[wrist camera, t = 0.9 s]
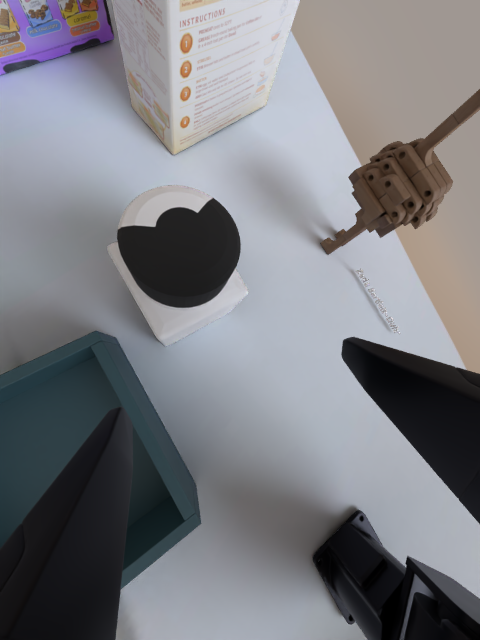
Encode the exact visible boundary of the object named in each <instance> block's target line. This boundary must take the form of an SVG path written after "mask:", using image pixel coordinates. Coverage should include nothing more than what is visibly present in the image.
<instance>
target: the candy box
mask: <svg viewBox="0 0 480 640" xmlns="http://www.w3.org/2000/svg"><path fill="white" fill-rule="evenodd" d="M113 39H114V34H113V30H112V25H111V20H110V15H109V11H108V6H107V2H106V0H0V75H3V74H5V73H9V72H11V71H14V70H17V69H20V68H25V67H28V66H31V65H34V64H36V63H40V62H43V61H46V60H50V59H54V58H57V57H60V56H63V55H65V54H69V53H72V52H75V51H79V50H82V49H84V48H88V47H91V46H94V45H98V44H101V43H104V42H106V41H110V40H113Z"/></svg>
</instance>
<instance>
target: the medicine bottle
mask: <svg viewBox="0 0 480 640" xmlns="http://www.w3.org/2000/svg"><path fill="white" fill-rule="evenodd" d="M117 240H118V241H117V242H114V243H111V244H109V245H108V247H107V250H108V253H109V255H110V257H111V258H112V260H113V262H114V264H115V265H116V267H117V269H118V271H119V273H120V274H121V276H122V278H123V280H124V281H125V283H126V285H127V287H128V289H129V290H130V292H131V294H132V296H133V297H134V299H135V301H136V303H137V304H138V306H139V308H140V310H141V312H142V313H143V315H144V317H145V319H146V320H147V322H148V324H149V326H150V328H151V329H152V331H153V333H154V335H155V336H156V338H157V339H158V340H159V341H160V342H161V343H162V344H163V345H164V346H166V347H167V346H170V345H172V344H173V343H175V342H177V341H179V340H181V339H183V338H184V337H186V336H188V335H190V334H192V333H194V332H195V331H197V330H199V329H201V328H203V327H205V326H206V325H208V324H210V323H212V322H214V321H216V320H217V319H219V318H221V317H223V316H225V315H227V314H228V313H229V312H230V311H231V310H232V309H234V308H235V307H236V306H237V305H238V304H239V303H240V302H241V301H242V300H243V299H244V298H245V297H246V296H247V295H248V289H247V287H246V285H245V283H244V282H243V280H242V278H241V277H240V275H239V273H238V271H237V270H236V266H237V263H238V260H239V256H240V236H239V232H238V229H237V227H236V224H235V222H234V220H233V218H232V217H231V215H230V214H229V213H228V211H227V210H226V209H225V208H224V207H223V206H222V205H221V204H220V203H219V202H218V201H217V200H215V199H214V198H212V197H211V196H209V195H208V194H206V193H204V192H202V191H200V190H197V189H194V188H191V187H186V186H179V185H168V186H161V187H157V188H154V189H151V190H148V191H146V192H144V193H142V194H141V195H139V196H138V197H136V198H135V199H134V200H133V201H132V202H131V203H130V204H129V205H128V206H127V208H126V209H125V211H124V212H123V214H122V216H121V219H120V221H119V226H118V233H117Z"/></svg>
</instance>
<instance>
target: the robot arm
mask: <svg viewBox="0 0 480 640" xmlns="http://www.w3.org/2000/svg"><path fill="white" fill-rule="evenodd" d="M342 358H343V360H344V362H345V363H346V365H347V366H348V367H349V369H350V370H351V372H352V373H353V375H354V376H355V377H356V379H357V380H358V382H359V383H360V384H361V386H362V387H363V388H364V390H365V391H366V392H367V393H368V395H369V396H370V397H371V398H372V399H373V400H374V402H375V403H376V404H377V405H378V406H379V407H380V409H381V410H382V411H383V412H384V413H385V414H386V415H387V417H388V418H389V419H390V420H391V421H392V422H393V424H394V425H395V426H396V427H397V428H398V429H399V431H400V432H401V433H402V434H403V435H404V436H405V438H406V439H407V440H408V441H409V442H410V443H411V445H412V446H413V447H414V448H415V449H416V450H417V451H418V453H419V454H420V455H421V456H422V457H423V458H424V460H425V461H426V462H427V463H428V464H429V465H430V467H431V468H432V469H433V470H434V471H435V472H436V474H437V475H438V476H439V477H440V478H441V479H442V481H443V482H444V483H445V484H446V485H447V486H448V488H449V489H450V490H451V491H452V492H453V493H454V494H455V496H456V497H457V498H459V501H460V502H461V503H462V504H463V505H464V506H465V507H466V509H467V510H468V511H469V512H470V513H471V514H472V516H473V517H474V518H475V519H476V520H477V521H478V523H479V524H480V374H478V373H475V372H471V371H468V370H464V369H461V368H455V367H454V366H451V365H447V364H444V363H441V362H437V361H434V360H430V359H427V358H424V357H420V356H417V355H413V354H410V353H407V352H403V351H400V350H397V349H393V348H390V347H386V346H383V345H380V344H376V343H373V342H370V341H366V340H363V339H359V338H356V337H350V338H347V339H344V341H343V346H342ZM132 473H133V426H132V421H131V419H130V418H129V416H128V414H127V412H126V411H125V409H124V408H123V407H117V408H114V409H111V410H109V411H108V412H107V414H106V415H105V416H104V418H103V419H102V420H101V421H100V423H99V424H98V425H97V426H96V428H95V429H94V430H93V432H92V433H91V434H90V435H89V437H88V438H87V439H86V440H85V442H84V443H83V444H82V446H81V447H80V448H79V449H78V451H77V452H76V453H75V454H74V456H73V457H72V458H71V459H70V461H69V462H68V463H67V465H66V466H65V467H64V468H63V470H62V471H61V472H60V473H59V475H58V476H57V477H56V479H55V480H54V481H53V482H52V484H51V485H50V486H49V487H48V489H47V490H46V491H45V493H44V494H43V495H42V496H41V498H40V499H39V500H38V501H37V503H36V504H35V505H34V507H33V508H32V509H31V510H30V512H29V513H28V514H27V515H26V517H25V518H24V519H23V521H22V524H19V525H18V527H17V528H16V529H15V531H14V532H13V533H12V534H11V536H10V537H9V538H8V539H7V541H6V542H5V543H4V544H3V546H2V547H1V548H0V640H115V639H116V629H117V619H118V610H119V600H120V590H121V581H122V571H123V561H124V552H125V542H126V532H127V523H128V513H129V503H130V494H131V484H132ZM360 516H361V517H360ZM319 559H320V561H319V562H318V560H319ZM313 562H314V564H315V566H316V568H317V570H318V572H319V573H320V575H321V577H322V579H323V581H324V582H325V584H326V586H327V588H328V590H329V591H330V593H331V595H332V597H333V599H334V600H335V602H336V604H337V606H338V608H339V609H340V611H341V613H342V615H343V617H344V618H345V620H346V621H347V623H348V624H350V625H351V624H353V623H354V622H355V621H356V623H357V624H358V626H359V627H360V629H361V630H362V632H363V633H364V635H365V636H366V638H367V639H368V640H480V599H479V598H478V597H477V596H475V595H474V594H473V593H471V592H470V591H468V590H467V589H466V588H464V587H463V586H462V585H460V584H459V583H458V582H456V581H455V580H454V579H452V578H451V577H449V576H447V575H445V574H443V573H441V572H439V571H437V570H435V569H433V568H431V567H429V566H427V565H425V564H423V563H421V562H419V561H417V560H415V559H413V558H411V557H409V556H407V560H406V565H407V567H405V566H403V565H402V564H401V563H400V562H399V561H398V560H397V559H396V558H395V557H394V556H393V555H391V554H390V553H389V552H388V551H387V550H386V549H385V548H384V547H383V545H382V544H381V542H380V540H379V538H378V537H377V535H376V533H375V531H374V529H373V528H372V526H371V524H370V522H369V521H368V519H367V517H366V515H365V514H364V513H363V512H362V511H360V510H357V511H356V512H355V513H354V514H353V515H352V516H351V517H350V518H349V519H348V520H347V521H346V522H345V523H344V524H343V525H342V526H341V527H340V528H339V529H338V531H337V532H336V533H335V534H334V535H333V536H332V537H331V538H330V539H329V540H328V541H327V542H326V543H325V544H324V545H323V546H322V547H321V548H320V549H319V550H318V551H317V552H316V553H315V554H314V556H313Z"/></svg>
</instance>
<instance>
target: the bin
mask: <svg viewBox="0 0 480 640" xmlns="http://www.w3.org/2000/svg"><path fill="white" fill-rule="evenodd" d="M117 407H123V408H124V409H125V411H126V412H127V414H128V416H129V418H130V419H131V421H132V426H133V473H132V484H131V494H130V503H129V513H128V523H127V532H126V542H125V552H124V561H123V571H122V581H121V589H122V588H123V587H124V586H125V585H127V584H128V583H129V582H130V581H131V580H133V579H134V578H135V577H136V576H138V575H139V574H140V573H141V572H142V571H144V570H145V569H146V568H147V567H149V566H150V565H151V564H152V563H153V562H155V561H156V560H157V559H158V558H160V557H161V556H162V555H163V554H165V553H166V552H167V551H168V550H169V549H171V548H172V547H173V546H174V545H176V544H177V543H178V542H179V541H180V540H182V539H183V538H184V537H185V536H187V535H188V534H189V533H190V532H191V531H193V530H194V529H195V528H196V527H198V526H199V525H200V524H201V518H200V510H199V503H198V495H197V488H196V484H195V482H194V480H193V478H192V476H191V475H190V473H189V471H188V469H187V467H186V465H185V464H184V462H183V460H182V458H181V456H180V454H179V453H178V451H177V449H176V447H175V445H174V443H173V442H172V440H171V438H170V436H169V434H168V432H167V431H166V429H165V427H164V425H163V423H162V421H161V420H160V418H159V416H158V414H157V412H156V410H155V409H154V407H153V405H152V403H151V401H150V399H149V398H148V396H147V394H146V392H145V390H144V388H143V386H142V385H141V383H140V381H139V379H138V377H137V375H136V374H135V372H134V370H133V368H132V366H131V364H130V363H129V361H128V359H127V357H126V355H125V353H124V352H123V350H122V348H121V346H120V344H119V342H118V341H117V339H116V338H115V337H112V336H109V335H107V334H104V333H101V332H99V331H94V332H92V333H90V334H88V335H86V336H83V337H81V338H79V339H77V340H75V341H73V342H71V343H68V344H66V345H64V346H62V347H60V348H58V349H56V350H53V351H51V352H49V353H47V354H45V355H43V356H40V357H38V358H36V359H34V360H32V361H30V362H28V363H25V364H23V365H21V366H19V367H17V368H15V369H13V370H10V371H8V372H6V373H4V374H2V375H0V548H1V547H2V546H3V544H4V543H5V542H6V541H7V539H8V538H9V537H10V536H11V534H12V533H13V532H14V531H15V529H16V528H17V527H18V525H19V524H22V521H23V519H24V518H25V517H26V515H27V514H28V513H29V512H30V510H31V509H32V508H33V507H34V505H35V504H36V503H37V501H38V500H39V499H40V498H41V496H42V495H43V494H44V493H45V491H46V490H47V489H48V487H49V486H50V485H51V484H52V482H53V481H54V480H55V479H56V477H57V476H58V475H59V473H60V472H61V471H62V470H63V468H64V467H65V466H66V465H67V463H68V462H69V461H70V459H71V458H72V457H73V456H74V454H75V453H76V452H77V451H78V449H79V448H80V447H81V446H82V444H83V443H84V442H85V440H86V439H87V438H88V437H89V435H90V434H91V433H92V432H93V430H94V429H95V428H96V426H97V425H98V424H99V423H100V421H101V420H102V419H103V418H104V416H105V415H106V414H107V412H108V411H109V410H111V409H114V408H117Z"/></svg>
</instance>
